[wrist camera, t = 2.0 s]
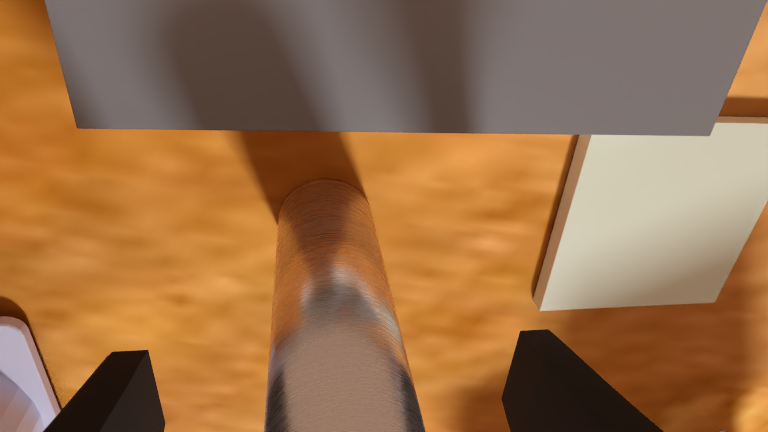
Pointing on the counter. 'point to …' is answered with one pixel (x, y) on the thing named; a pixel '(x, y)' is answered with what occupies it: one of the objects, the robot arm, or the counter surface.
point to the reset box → (403, 64)
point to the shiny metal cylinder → (335, 321)
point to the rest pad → (655, 217)
